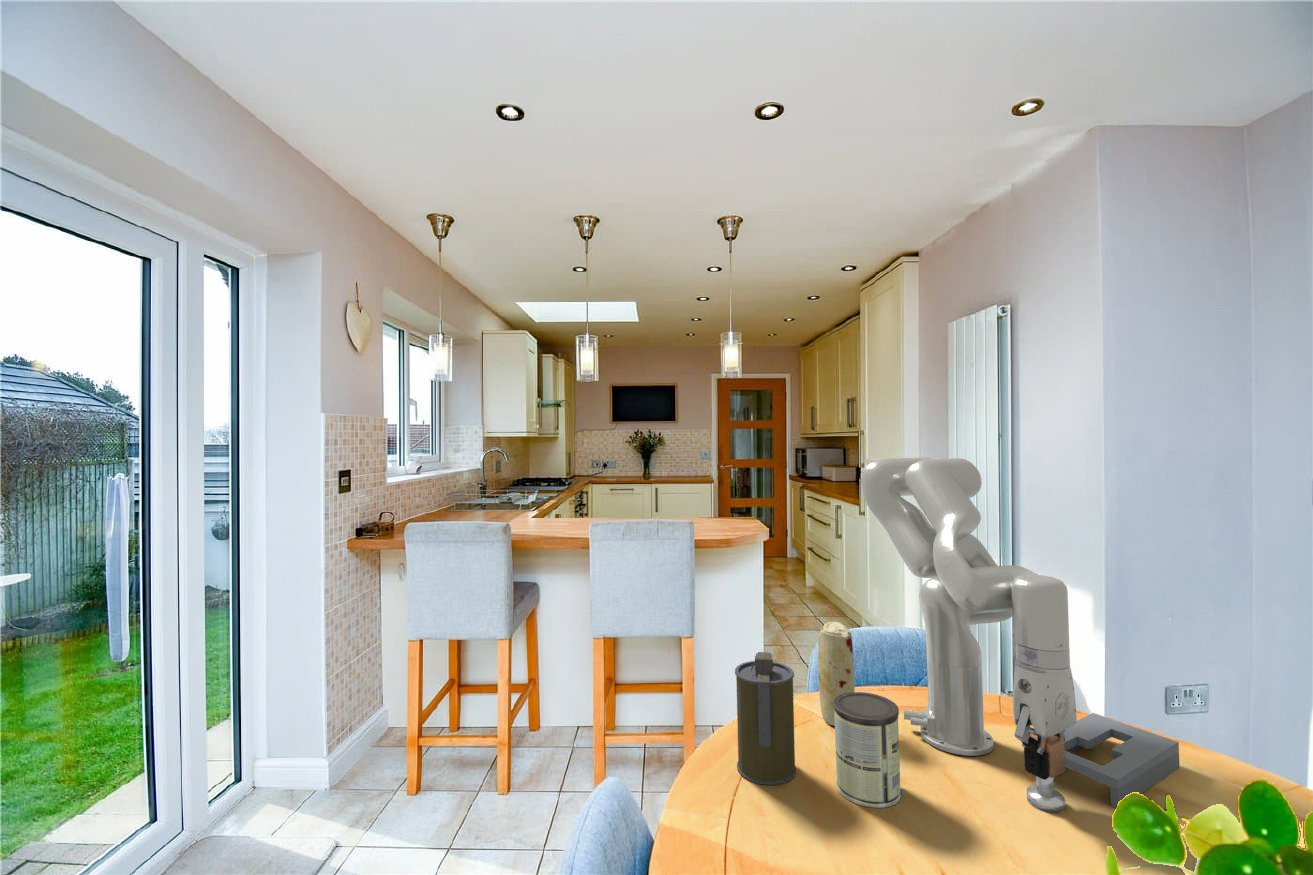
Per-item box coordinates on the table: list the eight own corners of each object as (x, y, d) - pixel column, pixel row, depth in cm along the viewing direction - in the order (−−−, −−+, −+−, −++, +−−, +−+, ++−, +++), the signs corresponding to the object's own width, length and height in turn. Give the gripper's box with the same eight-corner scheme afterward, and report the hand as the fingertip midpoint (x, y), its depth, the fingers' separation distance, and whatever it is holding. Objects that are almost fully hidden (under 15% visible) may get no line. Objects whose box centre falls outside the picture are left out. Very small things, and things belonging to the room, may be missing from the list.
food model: (863, 731, 116) (860, 631, 116) (831, 733, 115) (828, 632, 116) (843, 709, 126) (841, 617, 126) (813, 711, 125) (811, 618, 125)
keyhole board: (1118, 808, 90) (1117, 779, 90) (1030, 769, 101) (1029, 743, 102) (1179, 768, 101) (1178, 741, 101) (1093, 736, 112) (1093, 712, 112)
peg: (1054, 817, 88) (1052, 748, 89) (1020, 800, 93) (1018, 734, 93) (1071, 806, 91) (1069, 739, 91) (1037, 790, 95) (1035, 726, 95)
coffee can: (836, 768, 103) (834, 688, 103) (899, 777, 100) (896, 695, 100) (834, 802, 93) (832, 714, 94) (903, 814, 90) (901, 722, 90)
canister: (738, 751, 110) (736, 644, 110) (795, 755, 107) (792, 647, 108) (734, 784, 99) (732, 666, 99) (797, 790, 97) (794, 669, 97)
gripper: (1036, 673, 85) (1040, 799, 85) (1094, 652, 93) (1098, 766, 93) (986, 658, 91) (990, 774, 91) (1044, 638, 100) (1047, 746, 99)
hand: (1044, 769), depth 92 cm, fingers closed on peg, 4 cm apart
